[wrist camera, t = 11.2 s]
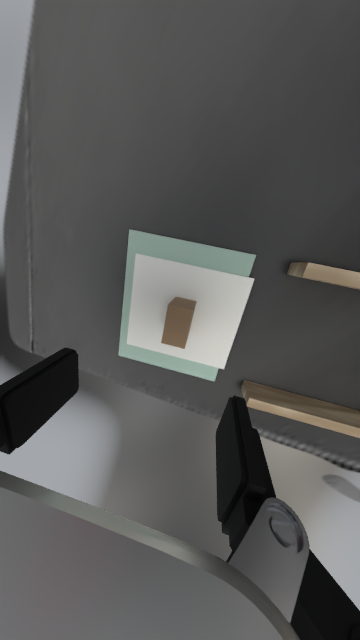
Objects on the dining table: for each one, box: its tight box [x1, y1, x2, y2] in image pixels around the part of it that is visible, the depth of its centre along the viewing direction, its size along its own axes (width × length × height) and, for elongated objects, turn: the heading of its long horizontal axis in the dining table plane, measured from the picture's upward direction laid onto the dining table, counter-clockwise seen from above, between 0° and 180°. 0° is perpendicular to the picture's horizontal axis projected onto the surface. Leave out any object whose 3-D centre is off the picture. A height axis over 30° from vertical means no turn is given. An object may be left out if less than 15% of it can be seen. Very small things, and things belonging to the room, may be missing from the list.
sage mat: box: [119, 229, 256, 381], centre depth 26 cm, size 20×17×1 cm
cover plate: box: [127, 254, 254, 369], centre depth 23 cm, size 14×16×6 cm
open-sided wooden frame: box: [241, 262, 360, 438], centre depth 22 cm, size 20×20×4 cm
